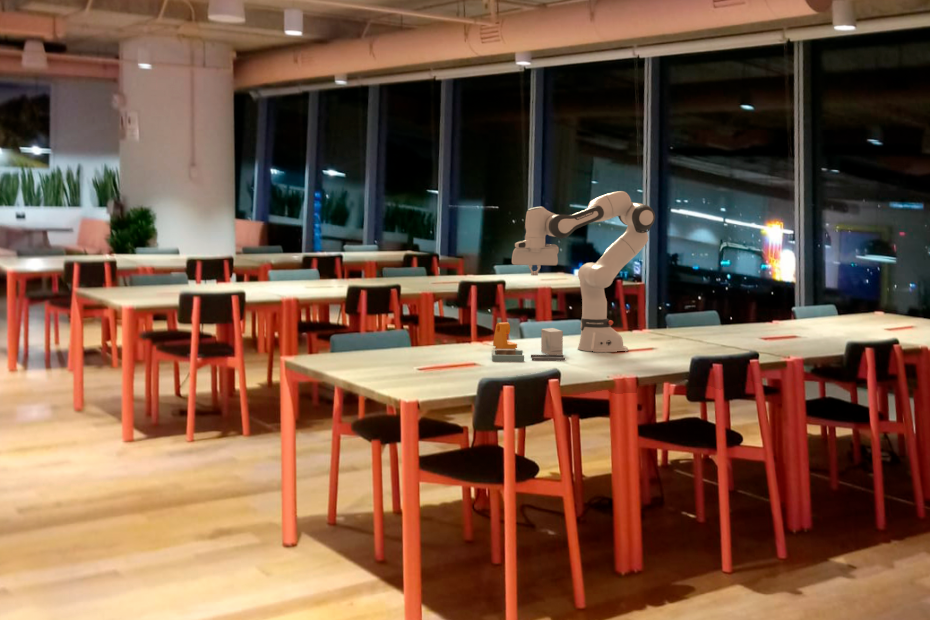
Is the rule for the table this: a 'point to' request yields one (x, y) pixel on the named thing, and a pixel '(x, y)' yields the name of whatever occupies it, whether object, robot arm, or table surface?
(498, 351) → the chip
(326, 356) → the table surface
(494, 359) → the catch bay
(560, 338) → the skincare box
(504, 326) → the bracket
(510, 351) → the chip
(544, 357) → the slot rails
